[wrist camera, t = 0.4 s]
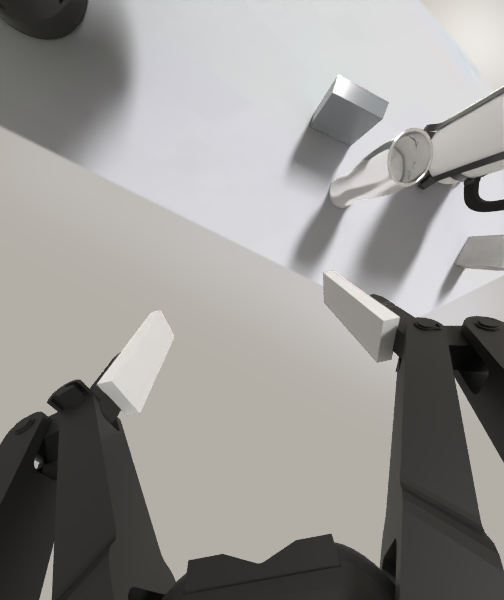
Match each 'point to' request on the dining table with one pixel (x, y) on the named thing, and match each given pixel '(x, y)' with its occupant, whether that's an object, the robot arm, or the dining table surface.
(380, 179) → the beer glass
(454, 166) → the coffee press
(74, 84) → the dining table surface
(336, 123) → the block
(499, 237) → the printed carton
